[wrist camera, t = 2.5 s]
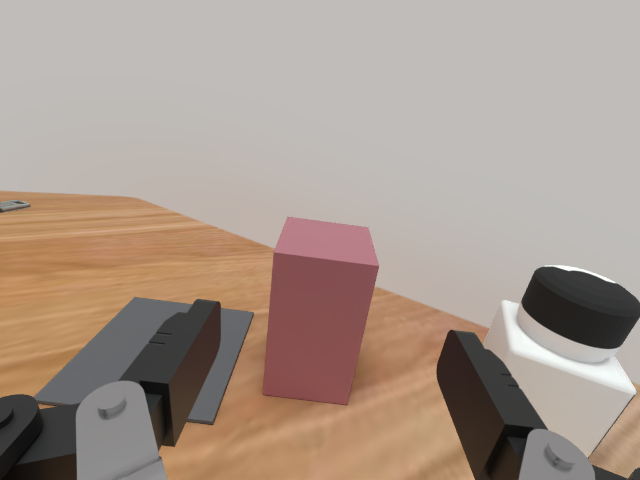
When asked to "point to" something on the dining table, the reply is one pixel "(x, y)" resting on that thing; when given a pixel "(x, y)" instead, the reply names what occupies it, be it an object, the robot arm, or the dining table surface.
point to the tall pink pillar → (318, 309)
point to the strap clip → (13, 205)
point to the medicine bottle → (568, 350)
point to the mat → (128, 341)
